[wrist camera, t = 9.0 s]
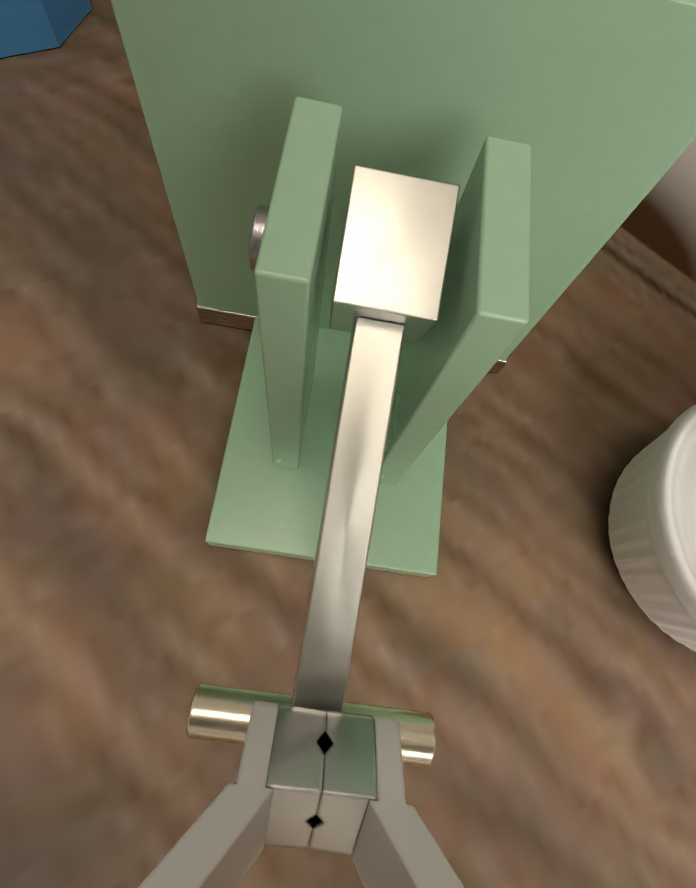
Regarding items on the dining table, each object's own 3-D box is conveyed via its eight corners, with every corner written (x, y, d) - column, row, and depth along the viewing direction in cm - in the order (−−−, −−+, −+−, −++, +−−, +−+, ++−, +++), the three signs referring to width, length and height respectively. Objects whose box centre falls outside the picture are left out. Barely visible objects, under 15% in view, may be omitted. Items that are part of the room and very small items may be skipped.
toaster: (497, 374, 24) (805, 22, 10) (200, 322, 23) (58, -151, 9) (502, 223, 27) (742, -214, 13) (240, 171, 26) (183, -360, 12)
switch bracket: (428, 577, 20) (649, 521, 8) (208, 545, 20) (75, 430, 7) (446, 344, 24) (616, 55, 12) (260, 311, 24) (230, -30, 11)
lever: (415, 731, 13) (438, 800, 10) (200, 704, 12) (173, 769, 10) (495, 245, 13) (537, 199, 10) (282, 204, 12) (273, 147, 10)
